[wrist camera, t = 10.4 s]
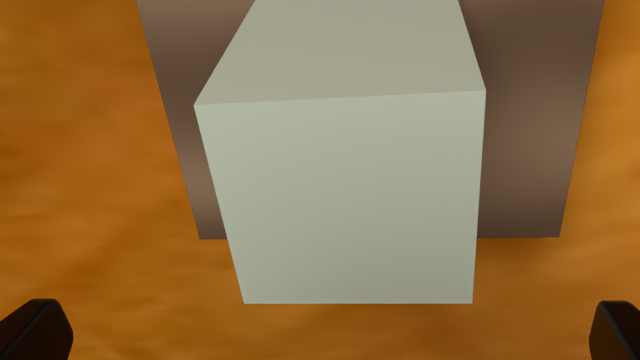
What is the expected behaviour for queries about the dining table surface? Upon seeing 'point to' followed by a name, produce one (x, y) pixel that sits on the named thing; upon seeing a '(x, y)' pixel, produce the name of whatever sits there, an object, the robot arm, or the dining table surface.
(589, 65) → the walnut block
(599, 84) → the dining table surface
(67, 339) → the robot arm
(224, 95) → the sage block
